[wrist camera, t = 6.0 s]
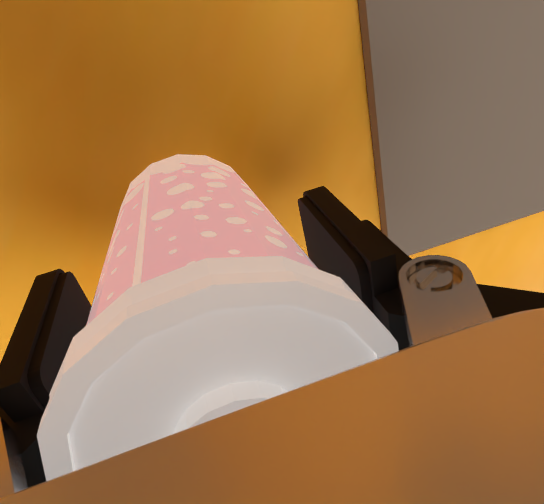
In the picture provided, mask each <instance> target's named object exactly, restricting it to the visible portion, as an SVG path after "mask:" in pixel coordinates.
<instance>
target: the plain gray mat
mask: <svg viewBox="0 0 544 504" xmlns="http://www.w3.org/2000/svg"><path fill="white" fill-rule="evenodd" d="M358 6H359V16H360V26H361V36H362V45H363V55H364V65H365V75H366V84H367V94H368V104H369V114H370V123H371V133H372V143H373V153H374V162H375V172H376V182H377V192H378V201H379V211H380V221H381V231H382V233H383V234H384V235H386V236H387V237H388V238H389V239H390V240H391V241H392V242H393V243H394V244H395V245H397V246H398V247H399V248H400V249H401V250H402V251H403V252H404V253H405V254H406V255H408V256H409V255H412V254H415V253H418V252H421V251H424V250H427V249H430V248H433V247H436V246H439V245H442V244H445V243H448V242H451V241H454V240H457V239H460V238H463V237H466V236H469V235H472V234H475V233H478V232H481V231H484V230H487V229H490V228H493V227H496V226H499V225H502V224H505V223H508V222H511V221H514V220H517V219H520V218H523V217H526V216H529V215H532V214H535V213H538V212H541V211H544V0H358Z"/></svg>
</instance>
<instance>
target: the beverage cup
mask: <svg viewBox="0 0 544 504" xmlns="http://www.w3.org/2000/svg"><path fill="white" fill-rule="evenodd" d="M397 351H399V348H398V342H397V341H396V340H395V338H394V337H393V336H392V334H391V333H390V332H389V331H388V330H387V329H386V327H385V326H384V325H383V324H382V323H381V322H380V321H379V320H378V319H377V318H376V316H375V315H374V314H373V313H372V312H371V311H370V310H369V309H368V307H367V306H366V305H365V304H364V303H363V302H362V301H361V300H360V299H359V297H358V296H357V295H356V294H355V293H354V292H353V291H352V290H351V289H350V288H349V286H348V285H347V284H346V283H345V282H344V281H343V280H342V279H341V278H340V277H337V276H335V275H332V274H329V273H327V272H324V271H321V270H319V269H318V268H317V267H316V266H315V264H314V263H313V262H312V261H311V260H310V259H309V257H308V256H307V255H306V254H305V253H304V251H303V250H302V249H301V248H300V247H299V246H298V244H297V243H296V242H295V241H294V240H293V238H292V237H291V236H290V235H289V234H288V233H287V231H286V230H285V229H284V228H283V227H282V225H281V224H280V223H279V222H278V221H277V220H276V218H275V217H274V216H273V215H272V214H271V212H270V211H269V210H268V209H267V208H266V206H265V205H264V204H263V203H262V202H261V201H260V199H259V198H258V197H257V196H256V195H255V193H254V192H253V191H252V190H251V189H250V188H249V186H248V185H247V184H246V183H245V182H244V181H243V180H242V179H241V178H240V176H239V175H238V174H237V173H236V172H235V171H234V170H233V169H232V168H231V167H230V166H228V165H226V164H224V163H222V162H219V161H217V160H215V159H213V158H210V157H208V156H206V155H182V154H177V155H174V156H172V157H169V158H166V159H163V160H161V161H158V162H155V163H152V164H150V165H149V166H148V167H147V168H146V169H145V170H144V171H143V172H142V173H141V174H140V175H138V176H137V177H136V178H135V179H134V180H133V181H132V182H131V183H130V186H129V188H128V190H127V193H126V195H125V198H124V200H123V202H122V205H121V207H120V211H119V214H118V218H117V221H116V225H115V228H114V232H113V235H112V238H111V242H110V245H109V249H108V252H107V256H106V259H105V262H104V266H103V269H102V273H101V276H100V280H99V283H98V287H97V290H96V293H95V297H94V300H93V304H92V307H91V311H90V314H89V317H88V321H87V324H86V326H85V327H84V328H83V329H82V330H81V331H80V332H79V333H77V334H76V335H75V336H74V337H73V339H72V341H71V344H70V346H69V348H68V351H67V353H66V356H65V358H64V360H63V363H62V365H61V367H60V370H59V372H58V375H57V377H56V379H55V382H54V384H53V387H52V389H51V391H50V394H49V397H50V399H49V402H48V404H47V406H46V409H45V411H44V413H43V416H42V418H41V421H40V425H39V429H38V433H37V440H38V444H39V449H40V454H41V458H42V463H43V468H44V473H45V477H46V481H48V480H51V479H53V478H56V477H59V476H61V475H64V474H67V473H69V472H72V471H75V470H77V469H80V468H83V467H85V466H88V465H91V464H93V463H96V462H99V461H101V460H104V459H107V458H110V457H112V456H115V455H118V454H120V453H123V452H126V451H128V450H131V449H134V448H137V447H139V446H142V445H145V444H147V443H150V442H153V441H155V440H158V439H161V438H164V437H166V436H169V435H172V434H174V433H177V432H180V431H182V430H185V429H188V428H191V427H193V426H196V425H199V424H201V423H204V422H207V421H209V420H212V419H215V418H218V417H220V416H223V415H226V414H228V413H231V412H234V411H236V410H239V409H242V408H245V407H247V406H250V405H253V404H255V403H258V402H261V401H263V400H266V399H269V398H272V397H274V396H277V395H280V394H282V393H285V392H288V391H290V390H293V389H296V388H299V387H301V386H304V385H307V384H309V383H312V382H315V381H317V380H320V379H323V378H326V377H328V376H331V375H334V374H337V373H339V372H342V371H345V370H347V369H350V368H353V367H356V366H358V365H361V364H364V363H367V362H369V361H372V360H375V359H378V358H380V357H383V356H386V355H389V354H391V353H394V352H397Z"/></svg>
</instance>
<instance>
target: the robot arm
mask: <svg viewBox="0 0 544 504" xmlns="http://www.w3.org/2000/svg"><path fill="white" fill-rule="evenodd" d="M298 206H299V211H300V216H301V221H302V226H303V231H304V236H305V241H306V246H307V251H308V256H309V259H310V260H311V261H312V262H313V263H314V264H315V266H316V267H317V268H318V269H319V270H321V271H324V272H327V273H329V274H332V275H335V276H337V277H340V278H341V279H342V280H343V281H344V282H345V283H346V284H347V285H348V286H349V288H350V289H351V290H352V291H353V292H354V293H355V294H356V295H357V296H358V297H359V299H360V300H361V301H362V302H363V303H364V304H365V305H366V306H367V307H368V309H369V310H370V311H371V312H372V313H373V314H374V315H375V316H376V318H377V319H378V320H379V321H380V322H381V323H382V324H383V325H384V326H385V327H386V329H387V330H388V331H389V332H390V333H391V334H392V336H393V337H394V338H395V340H396V341H397V342H398V348H399V351H397V352H394V353H391V354H389V355H386V356H383V357H380V358H378V359H375V360H372V361H369V362H367V363H364V364H361V365H358V366H356V367H353V368H350V369H347V370H345V371H342V372H339V373H337V374H334V375H331V376H328V377H326V378H323V379H320V380H317V381H315V382H312V383H309V384H307V385H304V386H301V387H299V388H296V389H293V390H290V391H288V392H285V393H282V394H280V395H277V396H274V397H272V398H269V399H266V400H263V401H261V402H258V403H255V404H253V405H250V406H247V407H245V408H242V409H239V410H236V411H234V412H231V413H228V414H226V415H223V416H220V417H218V418H215V419H212V420H209V421H207V422H204V423H201V424H199V425H196V426H193V427H191V428H188V429H185V430H182V431H180V432H177V433H174V434H172V435H169V436H166V437H164V438H161V439H158V440H155V441H153V442H150V443H147V444H145V445H142V446H139V447H137V448H134V449H131V450H128V451H126V452H123V453H120V454H118V455H115V456H112V457H110V458H107V459H104V460H101V461H99V462H96V463H93V464H91V465H88V466H85V467H83V468H80V469H77V470H75V471H72V472H69V473H67V474H64V475H61V476H59V477H56V478H53V479H51V480H48V481H46V477H45V473H44V468H43V463H42V458H41V454H40V449H39V444H38V440H37V433H38V429H39V425H40V421H41V418H42V416H43V413H44V411H45V409H46V406H47V404H48V402H49V399H50V397H49V394H50V391H51V389H52V387H53V384H54V382H55V379H56V377H57V375H58V372H59V370H60V367H61V365H62V363H63V360H64V358H65V356H66V353H67V351H68V348H69V346H70V344H71V341H72V339H73V337H74V336H75V335H76V334H77V333H79V332H80V331H81V330H82V329H83V328H84V327H85V326H86V324H87V321H88V317H89V314H90V311H91V307H92V306H91V305H90V303H89V301H88V299H87V298H86V296H85V294H84V292H83V290H82V289H81V287H80V285H79V283H78V282H77V280H76V278H75V276H74V275H73V274H72V273H71V272H66V273H65V272H64V271H63V270H61V269H57V270H54V271H51V272H48V273H45V274H41V275H38V276H36V278H35V280H34V283H33V285H32V288H31V290H30V292H29V295H28V297H27V300H26V302H25V305H24V307H23V310H22V312H21V314H20V317H19V319H18V322H17V324H16V327H15V329H14V332H13V334H12V336H11V339H10V341H9V344H8V346H7V349H6V351H5V354H4V356H3V359H2V361H1V363H0V504H544V293H539V292H532V291H525V290H517V289H510V288H503V287H496V286H488V285H481V284H476V282H475V279H474V277H473V275H472V273H471V271H470V270H469V268H468V267H467V266H466V265H465V264H464V263H462V262H461V261H459V260H457V259H454V258H451V257H447V256H440V255H427V256H422V257H417V258H415V259H413V260H412V259H411V258H410V257H409V256H408V255H406V254H405V253H404V252H403V251H402V250H401V249H400V248H399V247H398V246H397V245H395V244H394V243H393V242H392V241H391V240H390V239H389V238H388V237H387V236H386V235H384V234H383V233H382V232H381V231H380V230H379V229H378V228H377V227H376V226H375V225H373V224H372V223H371V222H370V221H368V220H363V221H360V220H359V219H358V218H357V217H356V216H355V215H354V214H353V213H352V212H351V211H350V210H349V209H348V208H347V207H346V206H344V205H343V204H342V203H341V202H340V201H339V200H338V199H337V198H336V197H335V196H334V195H333V194H332V193H331V192H330V191H329V190H328V189H326V188H325V187H324V186H321V187H318V188H315V189H311V190H308V191H305V192H304V193H303V198H300V199H298Z"/></svg>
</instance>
